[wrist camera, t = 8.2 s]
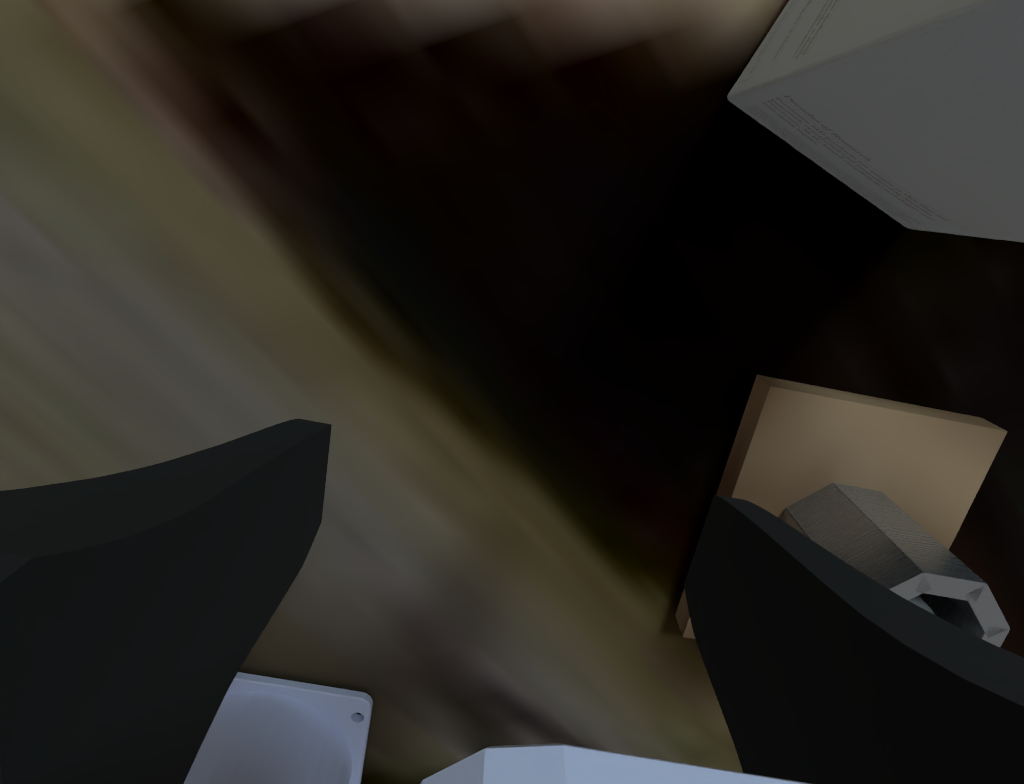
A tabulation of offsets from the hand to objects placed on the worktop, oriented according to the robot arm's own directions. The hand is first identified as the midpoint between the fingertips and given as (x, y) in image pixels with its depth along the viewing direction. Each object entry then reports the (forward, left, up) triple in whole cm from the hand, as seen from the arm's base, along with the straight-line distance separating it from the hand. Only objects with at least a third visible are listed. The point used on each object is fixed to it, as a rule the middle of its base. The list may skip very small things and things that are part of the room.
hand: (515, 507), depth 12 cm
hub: (-4, -12, -9) cm, 15 cm away
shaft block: (-4, -12, -10) cm, 16 cm away
